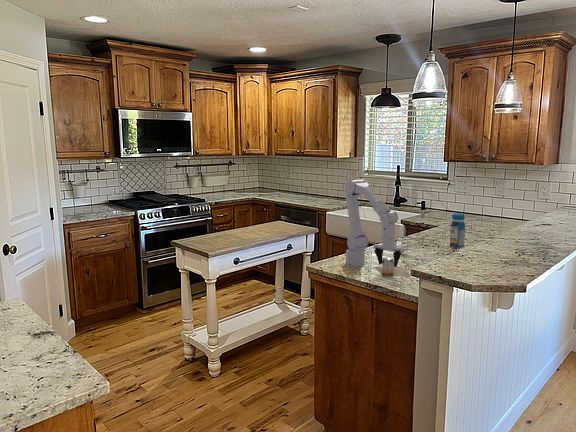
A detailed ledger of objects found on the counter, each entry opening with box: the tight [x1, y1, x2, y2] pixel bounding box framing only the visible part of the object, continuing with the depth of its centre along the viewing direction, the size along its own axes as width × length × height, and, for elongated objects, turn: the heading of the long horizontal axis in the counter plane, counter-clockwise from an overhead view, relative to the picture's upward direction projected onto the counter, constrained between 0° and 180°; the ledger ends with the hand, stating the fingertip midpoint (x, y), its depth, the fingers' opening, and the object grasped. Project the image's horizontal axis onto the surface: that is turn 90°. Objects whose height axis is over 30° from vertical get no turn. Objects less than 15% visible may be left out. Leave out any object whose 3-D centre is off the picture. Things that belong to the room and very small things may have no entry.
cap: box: [381, 257, 394, 271], centre depth 211 cm, size 5×5×5 cm
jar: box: [382, 269, 394, 275], centre depth 211 cm, size 5×5×5 cm
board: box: [374, 265, 412, 278], centre depth 215 cm, size 13×17×1 cm
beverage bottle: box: [449, 212, 466, 249], centre depth 263 cm, size 8×8×20 cm
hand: (387, 265), depth 211 cm, fingers open, 7 cm apart
